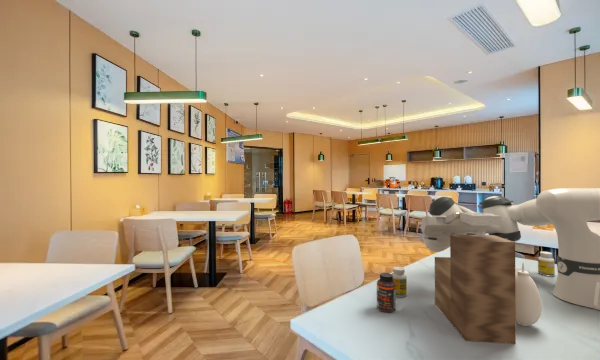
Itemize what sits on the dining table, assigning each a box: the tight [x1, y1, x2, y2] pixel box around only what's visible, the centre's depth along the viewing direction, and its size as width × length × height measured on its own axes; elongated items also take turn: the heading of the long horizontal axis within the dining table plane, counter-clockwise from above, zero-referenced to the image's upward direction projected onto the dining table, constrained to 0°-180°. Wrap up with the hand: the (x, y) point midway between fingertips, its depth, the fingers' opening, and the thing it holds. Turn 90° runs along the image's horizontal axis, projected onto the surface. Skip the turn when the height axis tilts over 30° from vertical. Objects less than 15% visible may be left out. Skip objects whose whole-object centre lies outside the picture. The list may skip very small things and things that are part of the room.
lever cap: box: [454, 212, 501, 226], centre depth 79 cm, size 7×16×2 cm, turn 174°
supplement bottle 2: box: [391, 266, 408, 298], centre depth 100 cm, size 5×5×10 cm
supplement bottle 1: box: [376, 272, 397, 314], centre depth 88 cm, size 6×6×11 cm
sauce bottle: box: [515, 262, 543, 327], centre depth 79 cm, size 8×8×18 cm
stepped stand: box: [434, 234, 517, 345], centre depth 80 cm, size 12×21×26 cm, turn 174°
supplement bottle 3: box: [537, 251, 556, 277], centre depth 120 cm, size 5×5×10 cm
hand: (464, 215), depth 83 cm, fingers closed on lever cap, 3 cm apart
